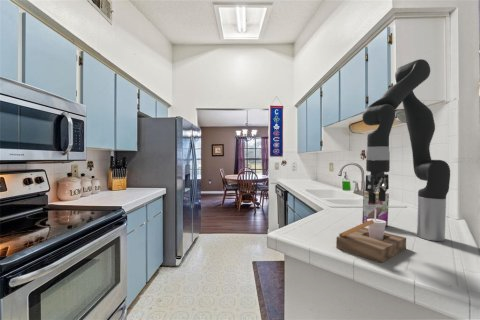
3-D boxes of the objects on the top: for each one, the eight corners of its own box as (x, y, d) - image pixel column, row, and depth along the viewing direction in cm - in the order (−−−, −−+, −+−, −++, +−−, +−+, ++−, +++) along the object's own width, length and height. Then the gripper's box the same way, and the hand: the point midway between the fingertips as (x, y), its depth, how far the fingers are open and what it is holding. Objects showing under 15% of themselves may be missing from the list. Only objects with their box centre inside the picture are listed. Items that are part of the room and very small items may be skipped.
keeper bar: (344, 235, 87) (342, 232, 87) (374, 223, 78) (372, 219, 79) (340, 237, 85) (338, 234, 85) (370, 224, 77) (368, 220, 77)
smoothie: (362, 243, 90) (363, 207, 90) (378, 243, 91) (379, 207, 91) (373, 249, 84) (374, 211, 84) (390, 249, 84) (391, 211, 84)
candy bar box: (362, 223, 119) (363, 191, 119) (363, 221, 123) (363, 190, 123) (388, 227, 113) (388, 193, 113) (388, 225, 117) (388, 192, 117)
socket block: (364, 237, 98) (364, 227, 98) (406, 248, 86) (406, 237, 86) (336, 247, 85) (336, 236, 85) (380, 263, 73) (381, 250, 73)
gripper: (375, 159, 94) (374, 199, 94) (358, 158, 86) (357, 202, 86) (396, 159, 88) (395, 201, 88) (380, 159, 80) (379, 206, 80)
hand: (377, 202), depth 87 cm, fingers open, 8 cm apart
